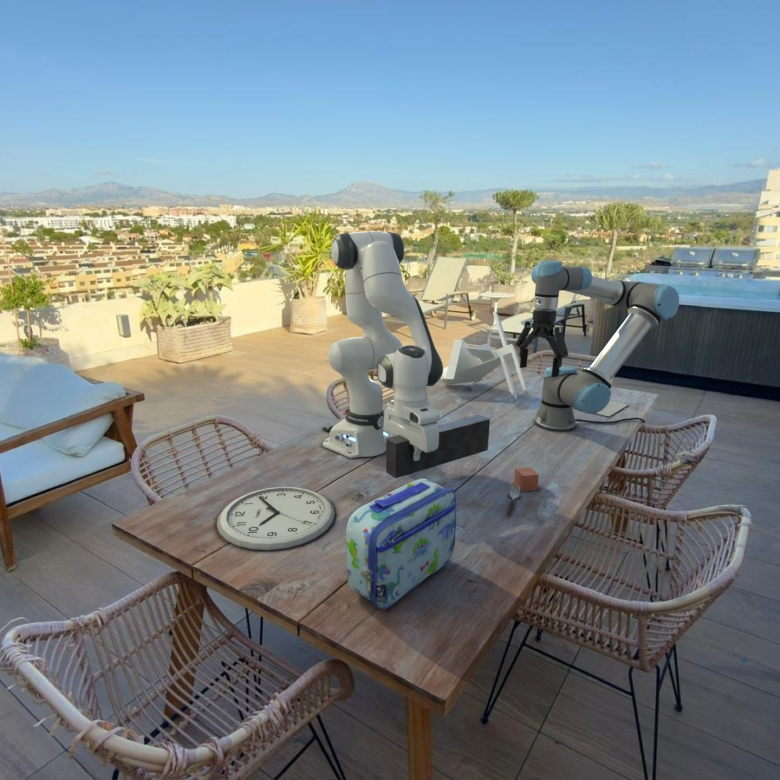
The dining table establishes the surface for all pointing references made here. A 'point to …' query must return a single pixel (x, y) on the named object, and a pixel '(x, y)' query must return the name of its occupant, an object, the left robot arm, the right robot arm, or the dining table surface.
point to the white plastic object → (482, 362)
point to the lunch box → (400, 540)
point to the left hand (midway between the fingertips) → (409, 456)
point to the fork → (513, 495)
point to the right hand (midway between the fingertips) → (538, 371)
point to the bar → (439, 446)
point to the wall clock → (275, 518)
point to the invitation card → (612, 408)
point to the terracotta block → (526, 479)
